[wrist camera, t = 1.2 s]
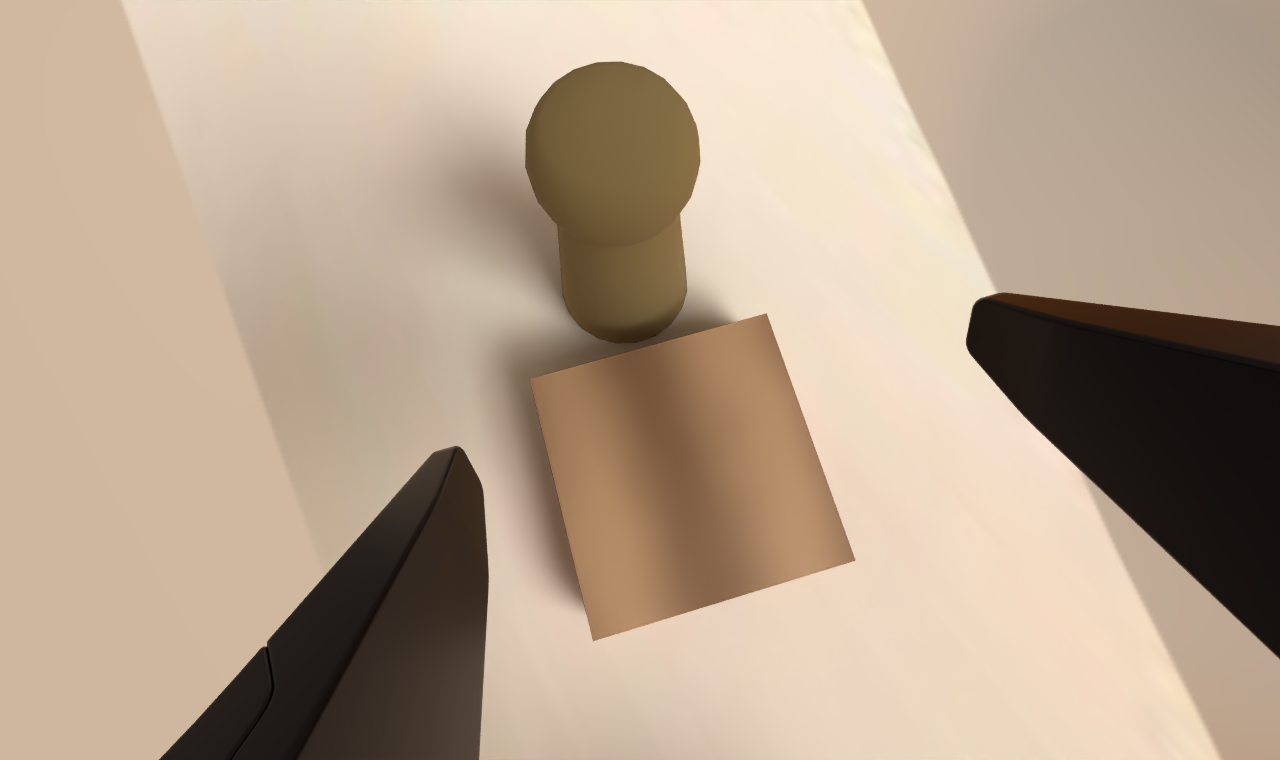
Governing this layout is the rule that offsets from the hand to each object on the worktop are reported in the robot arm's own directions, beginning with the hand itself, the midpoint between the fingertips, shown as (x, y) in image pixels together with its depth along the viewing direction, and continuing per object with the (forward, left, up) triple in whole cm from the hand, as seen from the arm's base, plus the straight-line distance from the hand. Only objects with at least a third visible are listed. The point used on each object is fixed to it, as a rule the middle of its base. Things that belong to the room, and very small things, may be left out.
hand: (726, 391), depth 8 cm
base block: (-1, +1, -14) cm, 14 cm away
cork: (+6, -6, -14) cm, 17 cm away
